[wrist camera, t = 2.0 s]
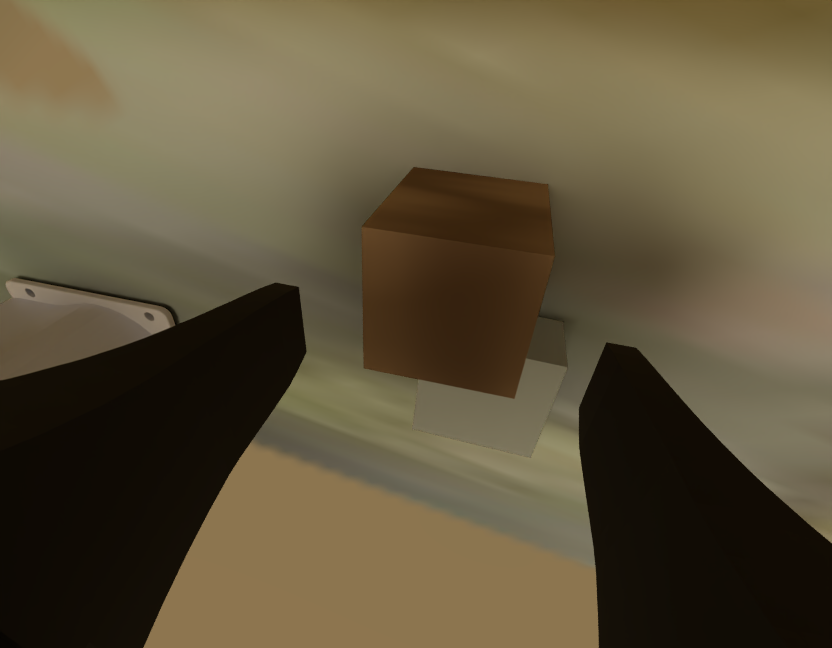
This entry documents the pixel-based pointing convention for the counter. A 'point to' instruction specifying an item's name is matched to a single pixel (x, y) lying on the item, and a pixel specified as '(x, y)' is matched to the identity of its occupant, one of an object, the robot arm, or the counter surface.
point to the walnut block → (456, 279)
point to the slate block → (500, 400)
